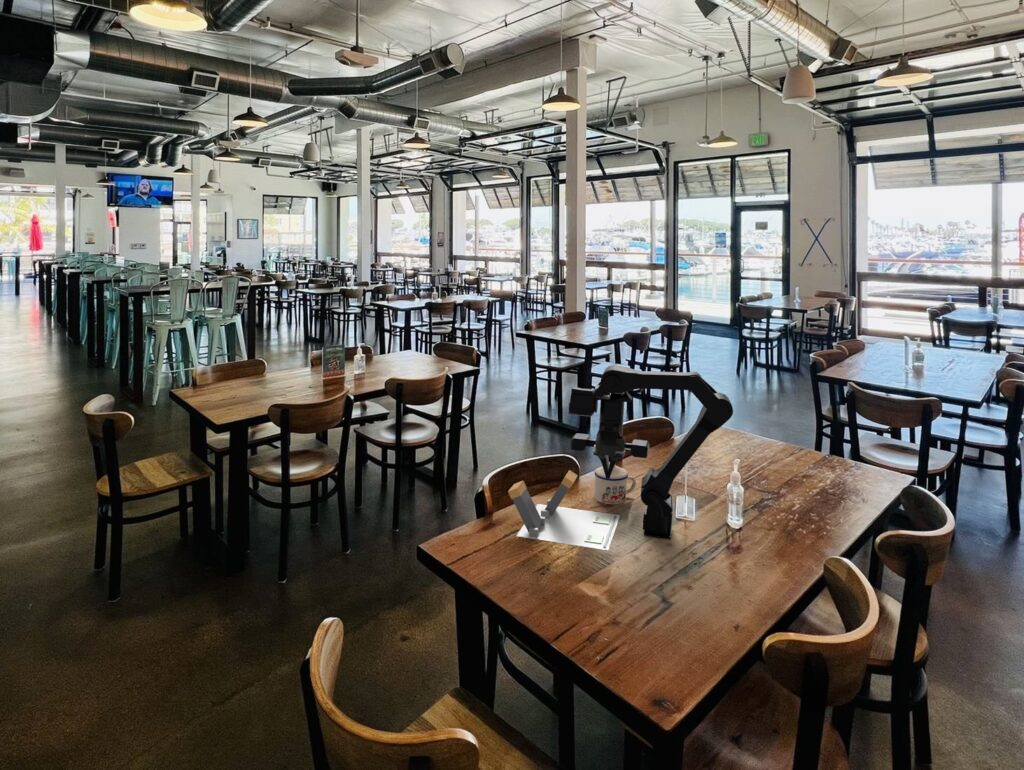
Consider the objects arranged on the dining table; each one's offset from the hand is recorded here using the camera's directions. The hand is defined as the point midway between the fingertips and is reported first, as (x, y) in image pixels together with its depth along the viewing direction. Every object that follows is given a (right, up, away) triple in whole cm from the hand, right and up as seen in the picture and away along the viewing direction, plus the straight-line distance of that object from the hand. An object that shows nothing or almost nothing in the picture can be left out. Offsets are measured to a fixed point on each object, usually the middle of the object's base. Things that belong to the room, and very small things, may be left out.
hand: (608, 478), depth 160 cm
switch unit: (-9, -13, 0) cm, 16 cm away
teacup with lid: (+4, -10, +18) cm, 21 cm away
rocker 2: (-15, -10, +7) cm, 19 cm away
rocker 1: (-18, -12, -3) cm, 22 cm away
